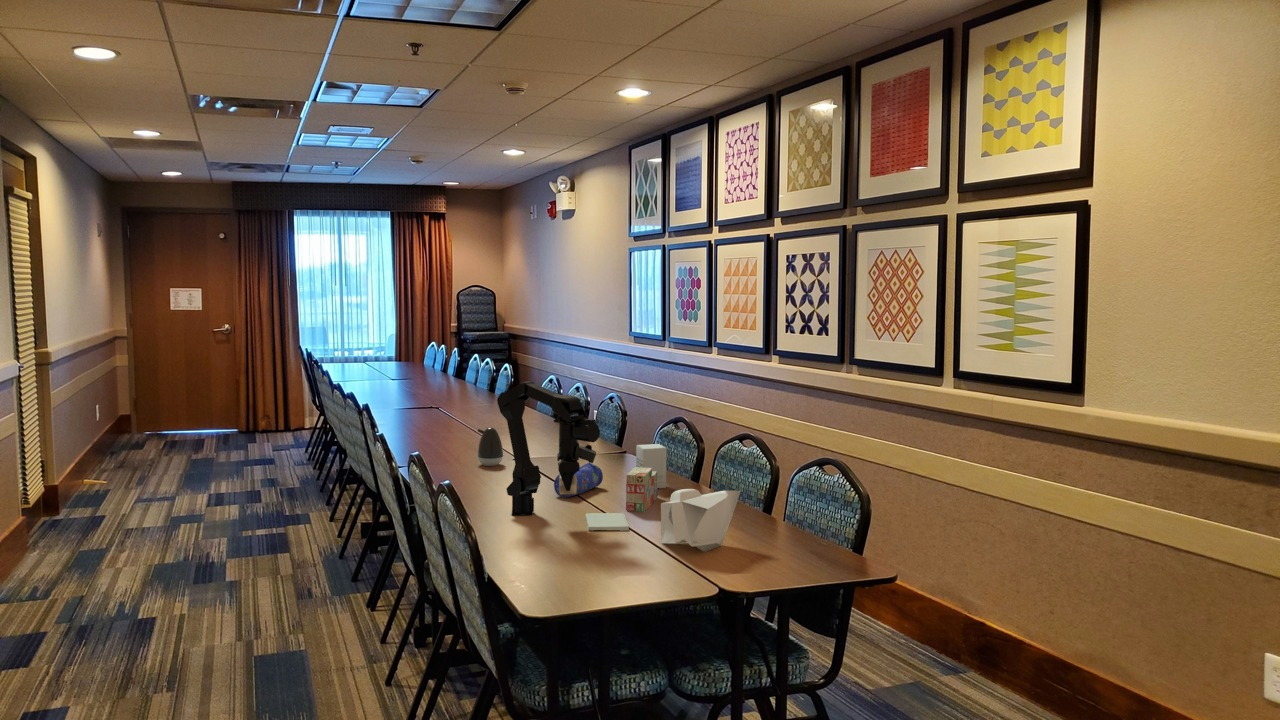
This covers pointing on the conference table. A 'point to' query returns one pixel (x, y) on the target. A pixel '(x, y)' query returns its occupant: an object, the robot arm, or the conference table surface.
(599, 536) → the conference table surface
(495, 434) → the grey egg-shaped body
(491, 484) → the conference table surface
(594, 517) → the sage board
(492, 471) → the conference table surface
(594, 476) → the pencil case
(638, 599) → the conference table surface
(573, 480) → the beige cube
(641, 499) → the stack of blocks
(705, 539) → the folded paper
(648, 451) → the supplement box
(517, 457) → the robot arm
